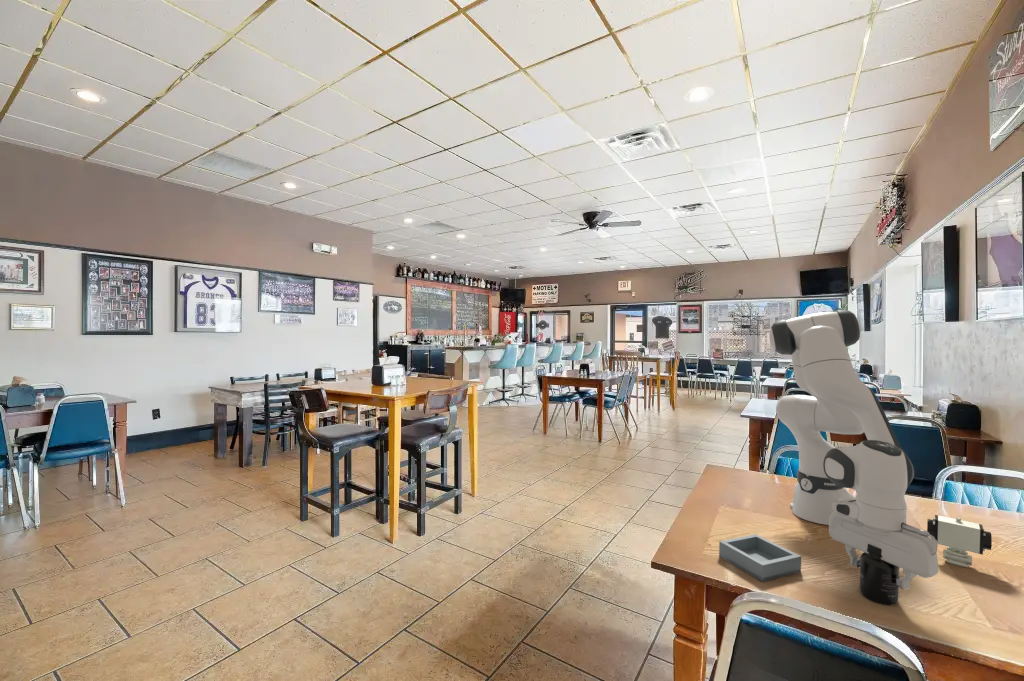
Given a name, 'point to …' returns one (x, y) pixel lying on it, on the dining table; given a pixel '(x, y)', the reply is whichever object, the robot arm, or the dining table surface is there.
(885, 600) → the supplement bottle
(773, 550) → the tray
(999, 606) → the dining table surface
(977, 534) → the pneumatic valve
